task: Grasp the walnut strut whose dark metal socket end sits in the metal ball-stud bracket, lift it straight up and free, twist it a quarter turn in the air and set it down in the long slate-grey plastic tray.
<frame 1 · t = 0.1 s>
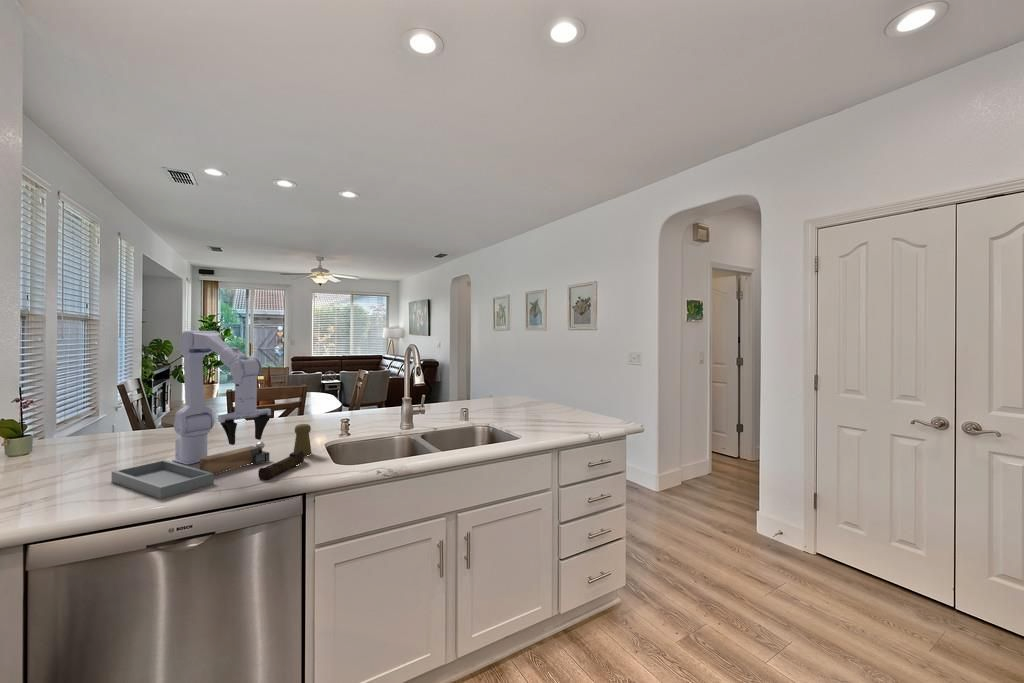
hand: (245, 441, 131), 10 cm above the table, tool pointing down, fingers open, 7 cm apart
tray: (162, 482, 122), on the table
strut: (230, 467, 137), on the table
hand tool: (283, 471, 136), on the table
stud bracket: (252, 461, 143), on the table
olive bottle: (302, 455, 152), on the table
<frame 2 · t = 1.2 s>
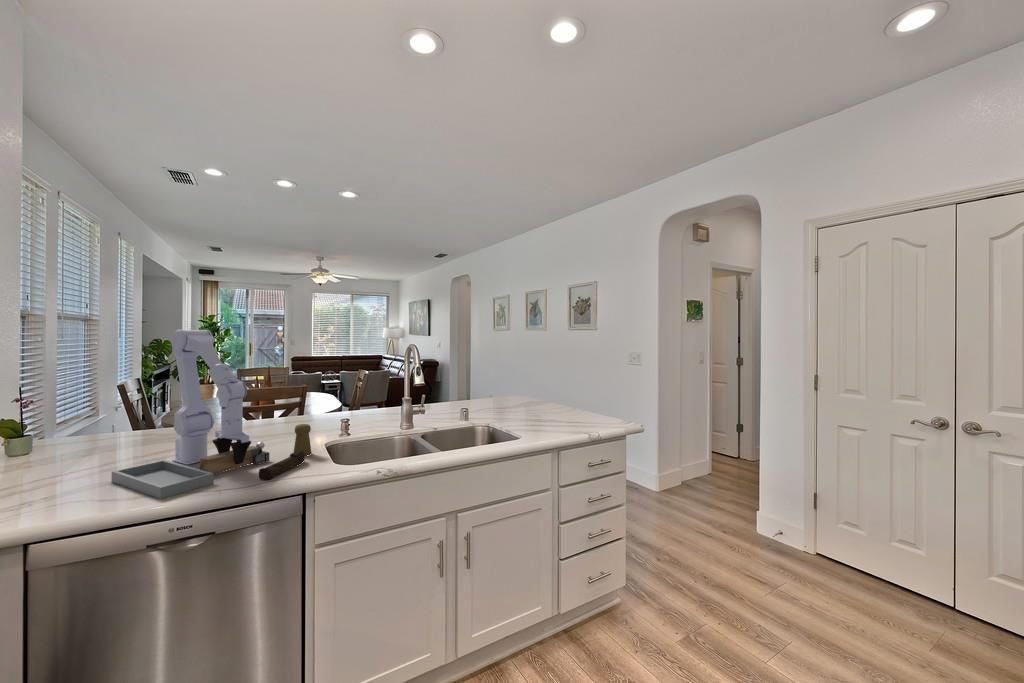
hand: (231, 461, 137), 2 cm above the table, tool pointing down, fingers open, 7 cm apart
nothing on the table moved.
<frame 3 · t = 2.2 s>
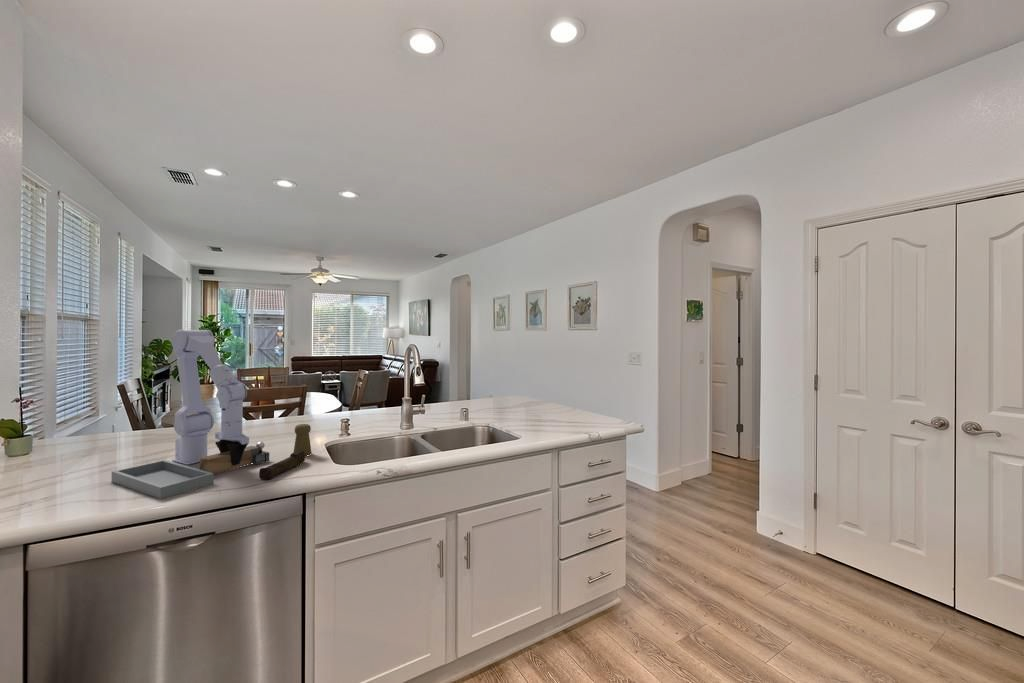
hand: (231, 463, 137), 1 cm above the table, tool pointing down, fingers closed on strut, 4 cm apart
strut: (230, 467, 137), on the table, touching gripper
everything else where it was.
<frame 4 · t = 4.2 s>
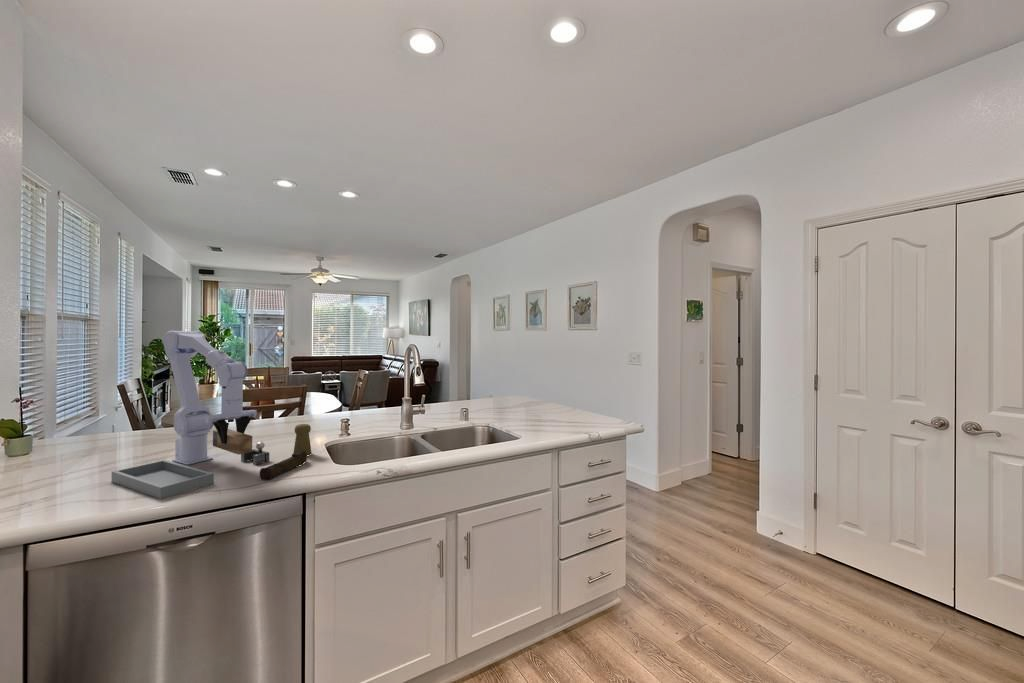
hand: (231, 441, 137), 8 cm above the table, tool pointing down, fingers closed on strut, 4 cm apart
strut: (232, 448, 137), point 6 cm above the table, touching gripper
everything else where it was.
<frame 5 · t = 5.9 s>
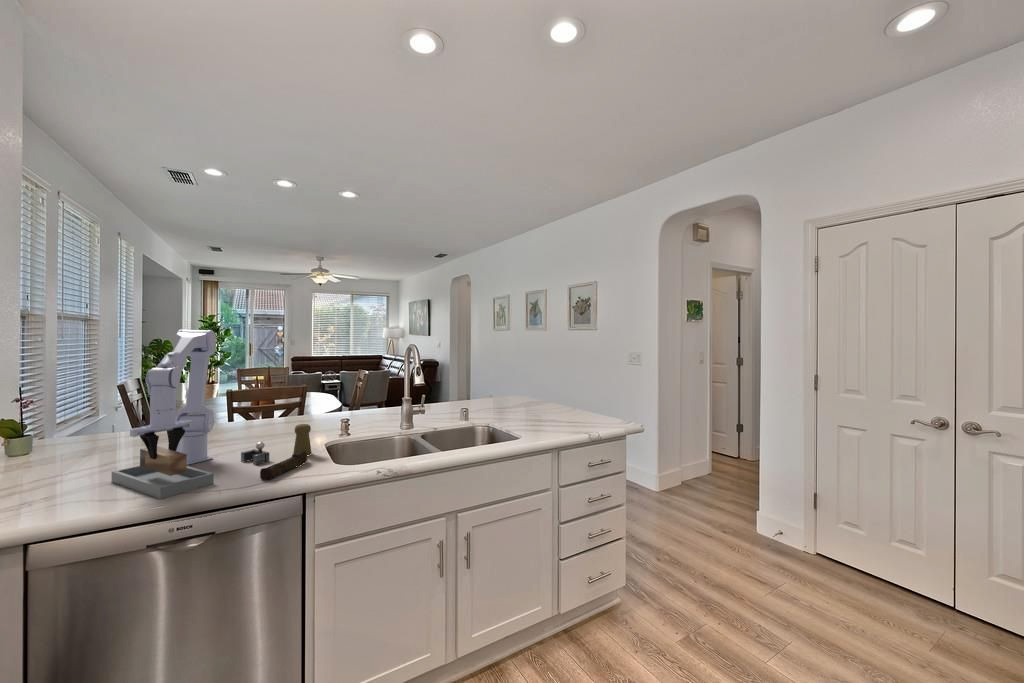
hand: (162, 456, 122), 8 cm above the table, tool pointing down, fingers closed on strut, 4 cm apart
strut: (162, 468, 122), point 4 cm above the table, touching gripper
everything else where it was.
when the fingers open (3 cm above the table, at t = 7.4 s): strut stays where it is, resting on tray.
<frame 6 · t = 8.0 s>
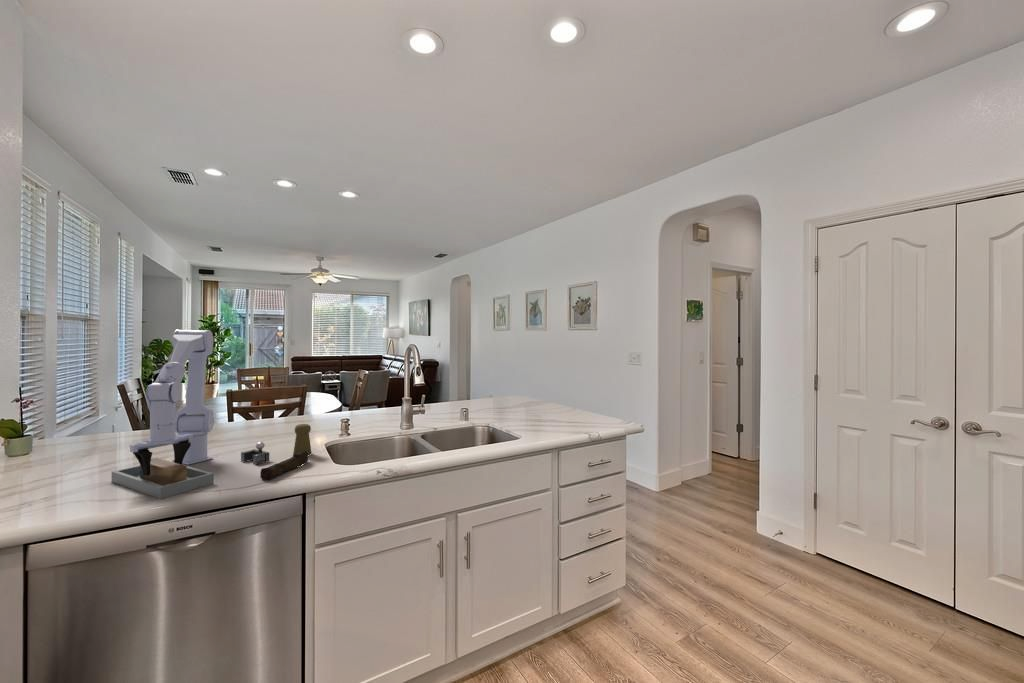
hand: (162, 471, 122), 3 cm above the table, tool pointing down, fingers open, 7 cm apart
strut: (163, 480, 122), point 1 cm above the table, touching tray
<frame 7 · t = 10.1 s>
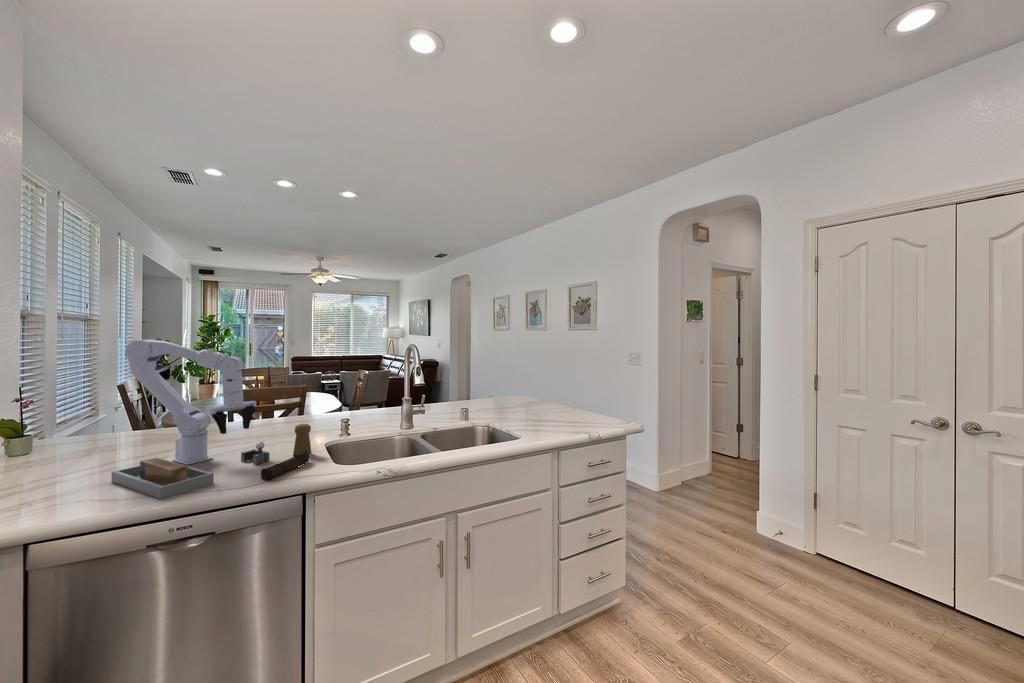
hand: (234, 430, 146), 9 cm above the table, tool pointing down, fingers open, 7 cm apart
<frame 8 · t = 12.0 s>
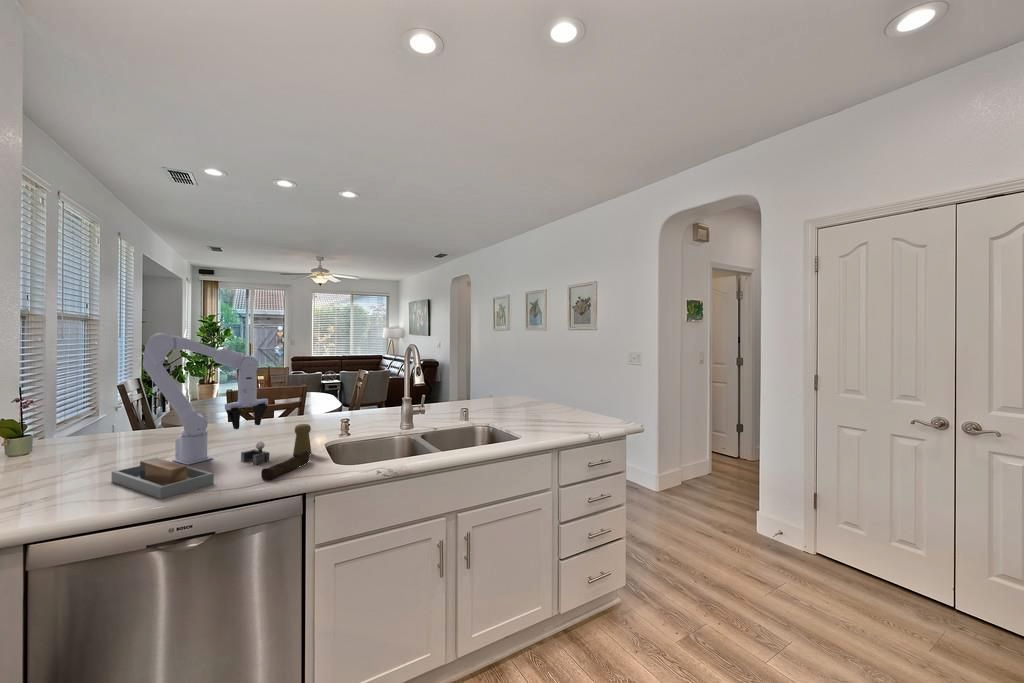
hand: (247, 426, 153), 9 cm above the table, tool pointing down, fingers open, 7 cm apart
at the end: strut inside the target area on the tray (0.2 cm from its centre), point 0.6 cm above the tray's base; strut touching tray; the gripper is holding nothing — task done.
